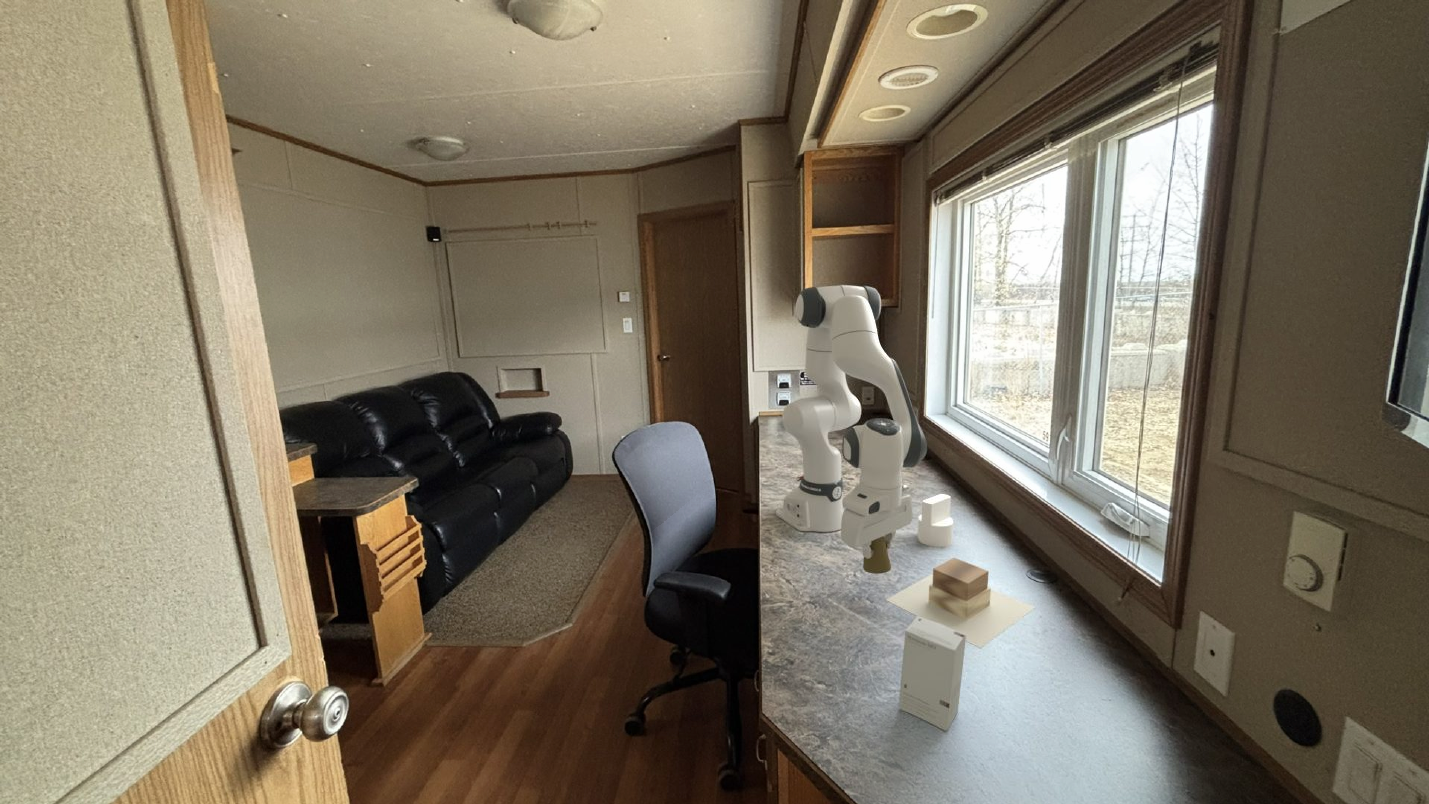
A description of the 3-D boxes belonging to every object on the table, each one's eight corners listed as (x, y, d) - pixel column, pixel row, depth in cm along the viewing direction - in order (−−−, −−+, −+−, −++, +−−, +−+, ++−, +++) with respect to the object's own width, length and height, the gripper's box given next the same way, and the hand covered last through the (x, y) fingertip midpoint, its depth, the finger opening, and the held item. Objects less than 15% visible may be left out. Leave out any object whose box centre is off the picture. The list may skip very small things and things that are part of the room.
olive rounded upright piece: (892, 573, 120) (888, 524, 119) (863, 574, 122) (859, 525, 120) (890, 561, 126) (885, 515, 125) (862, 562, 127) (858, 516, 126)
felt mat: (885, 602, 124) (885, 599, 124) (941, 570, 137) (942, 568, 137) (980, 651, 107) (980, 648, 107) (1035, 610, 119) (1035, 607, 119)
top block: (932, 585, 122) (933, 568, 121) (953, 573, 126) (953, 557, 126) (967, 601, 115) (968, 583, 115) (987, 588, 120) (988, 571, 119)
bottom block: (928, 601, 123) (929, 585, 122) (951, 588, 128) (952, 572, 127) (967, 620, 116) (968, 603, 115) (989, 605, 121) (990, 588, 120)
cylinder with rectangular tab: (930, 529, 160) (932, 490, 157) (959, 540, 152) (961, 499, 150) (910, 538, 155) (912, 497, 152) (939, 550, 147) (941, 507, 145)
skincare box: (898, 709, 93) (901, 630, 90) (911, 689, 97) (914, 613, 94) (950, 734, 88) (954, 650, 85) (962, 711, 92) (966, 631, 89)
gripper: (897, 479, 128) (894, 534, 131) (836, 501, 117) (834, 561, 120) (921, 487, 123) (918, 544, 126) (860, 511, 112) (857, 573, 115)
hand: (877, 552), depth 123 cm, fingers closed on olive rounded upright piece, 5 cm apart
